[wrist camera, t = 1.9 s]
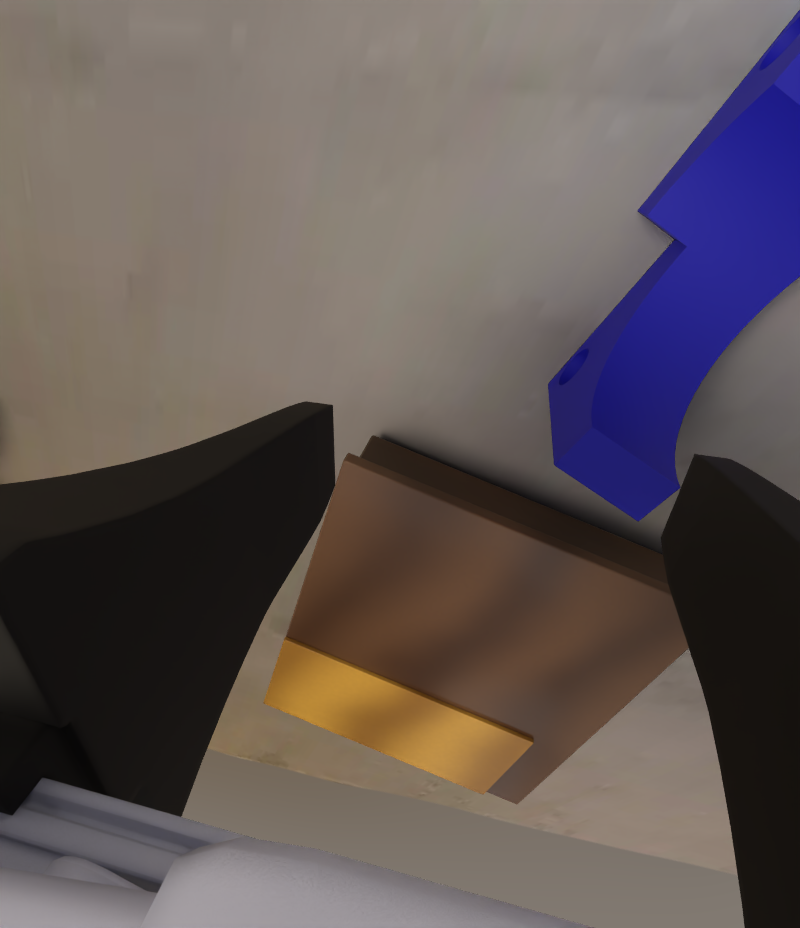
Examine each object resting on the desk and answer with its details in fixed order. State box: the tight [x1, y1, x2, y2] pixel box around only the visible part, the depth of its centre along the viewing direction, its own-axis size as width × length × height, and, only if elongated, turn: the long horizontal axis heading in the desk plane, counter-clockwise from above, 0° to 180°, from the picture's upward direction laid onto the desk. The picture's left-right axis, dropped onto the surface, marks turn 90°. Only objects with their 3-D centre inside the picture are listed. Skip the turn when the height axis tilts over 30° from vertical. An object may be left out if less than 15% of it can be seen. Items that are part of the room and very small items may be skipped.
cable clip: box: [548, 10, 800, 521], centre depth 14 cm, size 12×4×6 cm, turn 148°
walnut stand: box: [264, 436, 689, 804], centre depth 25 cm, size 15×17×4 cm
